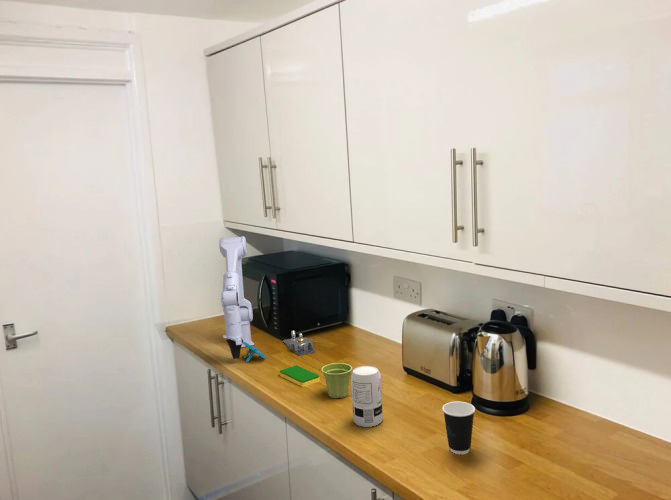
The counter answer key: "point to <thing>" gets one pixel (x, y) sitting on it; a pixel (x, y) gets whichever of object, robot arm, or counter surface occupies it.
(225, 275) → the robot arm
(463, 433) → the dixie cup
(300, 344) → the gear board
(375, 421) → the supplement can
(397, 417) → the counter surface
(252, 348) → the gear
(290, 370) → the dish sponge
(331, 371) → the plant pot
